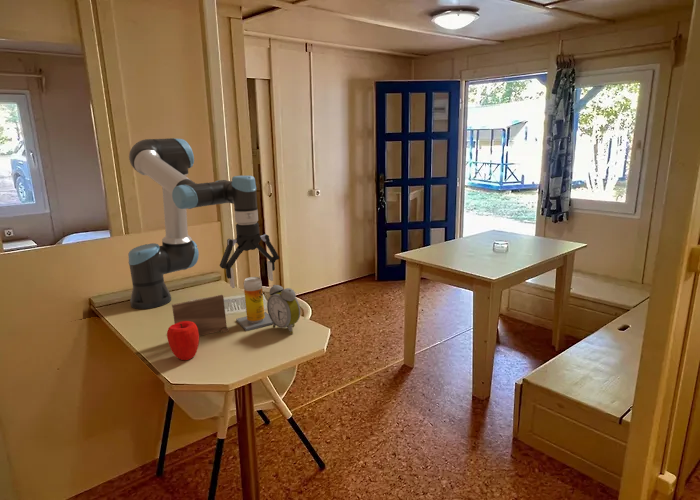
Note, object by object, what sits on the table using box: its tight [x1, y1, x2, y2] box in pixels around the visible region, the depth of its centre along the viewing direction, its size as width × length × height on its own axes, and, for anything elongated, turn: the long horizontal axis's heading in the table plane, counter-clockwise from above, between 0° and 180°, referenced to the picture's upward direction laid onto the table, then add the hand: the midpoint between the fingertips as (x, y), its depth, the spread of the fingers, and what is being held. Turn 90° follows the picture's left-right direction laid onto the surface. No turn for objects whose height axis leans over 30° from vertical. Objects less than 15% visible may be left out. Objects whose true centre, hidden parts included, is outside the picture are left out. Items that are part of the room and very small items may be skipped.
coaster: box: [236, 311, 273, 332], centre depth 159 cm, size 11×11×1 cm
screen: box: [171, 294, 229, 337], centre depth 149 cm, size 5×16×12 cm, turn 120°
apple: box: [166, 321, 200, 361], centre depth 133 cm, size 9×9×11 cm
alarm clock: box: [266, 284, 301, 335], centre depth 150 cm, size 12×7×15 cm, turn 47°
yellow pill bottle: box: [243, 276, 265, 323], centre depth 157 cm, size 6×6×15 cm
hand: (252, 283), depth 156 cm, fingers open, 13 cm apart
